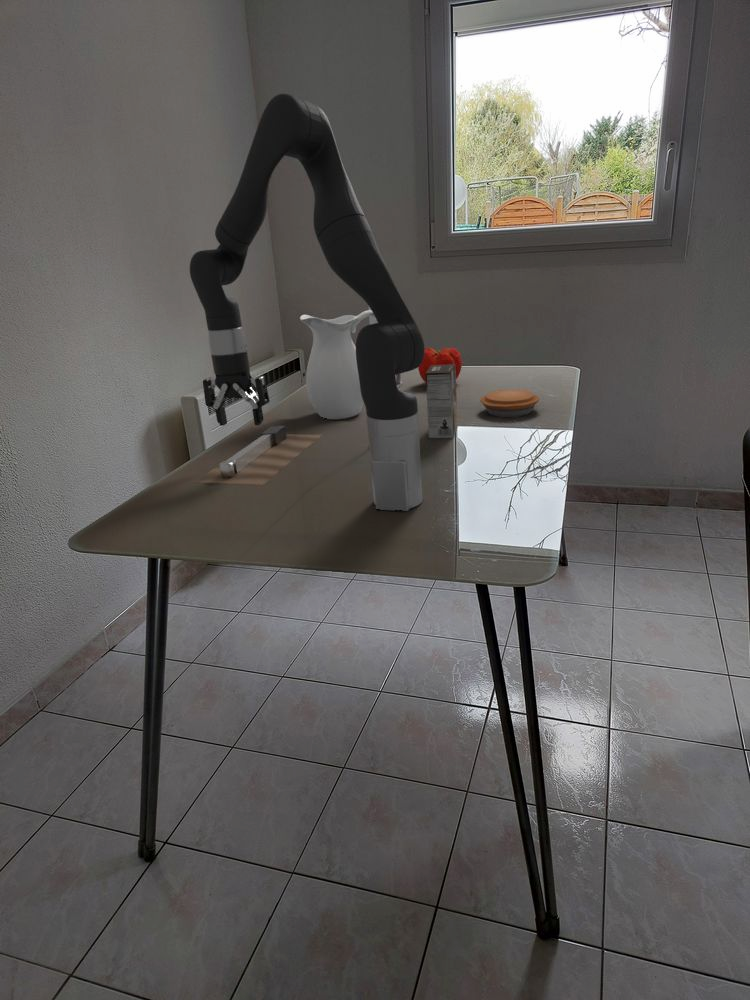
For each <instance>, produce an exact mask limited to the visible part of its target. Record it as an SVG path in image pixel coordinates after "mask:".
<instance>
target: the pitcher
mask: <svg viewBox="0 0 750 1000" xmlns="http://www.w3.org/2000/svg"><path fill="white" fill-rule="evenodd" d="M369 316H373V317H375V316H374V314H373V312H372V310H369V309H368V310H364V311H362V312H361V313H359V314H358V315H352V314H347V315H341V316H338V317H336V318H333V319H332V318H330V319H323V318H320V317H316V316H311V315H309V314H302V315H301V316H300V317H299V320H300V322H302V323H304V324H305V325H306V326H307V327H309V329H310V330H311V333H312V337H313V339H312V340H313V341H312V347H311V351H310V355H309V357H308V362H307V367H306V375H305V385H306V391H307V395H308V399H309V402H310V404H311V405H312V407H313V409H314V410H315V411H316V413H317V414H318V415H319V416H320V417H321V418H322V417H323V418H322V419H324V418H327V419H326V420H342V419H343V420H344V419H345V420H346V419H349V418H353V417H355V416H358V415H359V414H360V413H361V411H362V409H363V407H364V406H365V404H364V402H363V399H362V396H361V390H360V382H359V375H358V368H357V361H356V344H355V343H354V341H353V339H352V334H355V333H356V331H357V326H358V325H359V324H360V323H361V322H362V320H364V319H365V318H367V317H369ZM351 333H352V334H351Z"/></svg>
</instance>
